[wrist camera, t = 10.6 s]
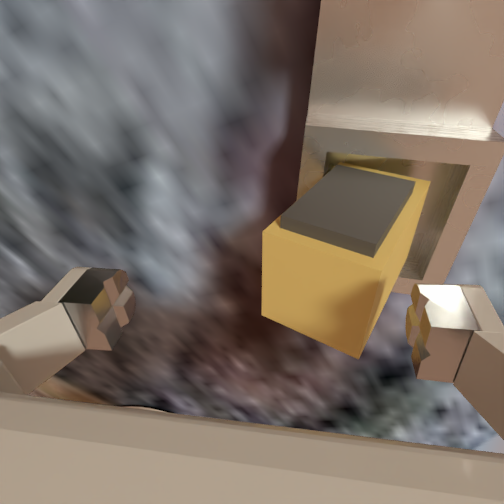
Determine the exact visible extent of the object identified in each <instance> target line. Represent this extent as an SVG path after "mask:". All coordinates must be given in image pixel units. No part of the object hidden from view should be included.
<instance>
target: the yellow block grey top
mask: <svg viewBox="0 0 504 504" xmlns="http://www.w3.org/2000/svg"><path fill="white" fill-rule="evenodd" d="M430 182H431V181H426V180H421V179H417V178H412V177H407V176H403V175H398V174H393V173H389V172H384V171H379V170H375V169H370V168H365V167H361V166H356V165H351V164H347V163H342V162H340V163H338V164H337V165H336V166H335V167H334V168H333V169H332V170H331V171H329V172H328V173H327V174H326V175H325V176H324V177H323V178H322V179H321V180H319V181H318V182H317V183H316V184H315V185H314V186H313V187H312V188H310V189H309V190H308V191H307V192H306V193H305V194H304V195H303V196H302V197H300V198H299V199H298V200H297V201H296V202H295V203H294V204H293V205H292V206H290V207H289V208H288V209H287V210H286V211H285V212H284V213H283V214H281V215H280V216H279V217H278V218H277V219H276V220H275V221H274V222H273V223H271V224H270V225H269V226H268V227H267V228H266V229H265V230H264V231H263V234H262V316H265V317H267V318H269V319H271V320H273V321H276V322H278V323H280V324H282V325H284V326H287V327H289V328H291V329H293V330H295V331H298V332H300V333H302V334H304V335H306V336H309V337H311V338H313V339H315V340H317V341H320V342H322V343H324V344H326V345H328V346H331V347H333V348H335V349H337V350H339V351H342V352H344V353H346V354H348V355H350V356H353V357H355V358H357V359H359V357H360V355H361V353H362V351H363V349H364V347H365V345H366V342H367V340H368V338H369V336H370V334H371V332H372V330H373V328H374V326H375V324H376V322H377V320H378V317H379V315H380V313H381V311H382V309H383V307H384V305H385V303H386V301H387V299H388V297H389V294H390V292H391V290H392V288H393V286H394V284H395V282H396V280H397V278H398V276H399V274H400V271H401V269H402V267H403V265H404V263H405V261H406V259H407V256H408V253H409V250H410V247H411V244H412V240H413V237H414V234H415V231H416V227H417V224H418V221H419V218H420V214H421V211H422V208H423V205H424V201H425V198H426V195H427V192H428V189H429V185H430Z"/></svg>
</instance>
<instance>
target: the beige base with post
mask: <svg viewBox="0 0 504 504" xmlns="http://www.w3.org/2000/svg"><path fill="white" fill-rule="evenodd" d="M503 101H504V0H321V6H320V14H319V23H318V31H317V39H316V48H315V56H314V64H313V72H312V81H311V89H310V97H309V106H308V113H307V119H306V125H305V133H304V141H303V149H302V158H301V166H300V174H299V183H298V191H297V200H298V199H299V198H300V197H302V196H303V195H304V194H305V193H306V192H307V191H308V190H309V189H310V188H312V187H313V186H314V185H315V184H316V183H317V182H318V181H319V180H321V179H322V178H323V177H324V176H325V175H326V174H327V173H328V172H329V171H331V170H332V169H333V168H334V167H335V166H336V165H337V164H338V163H340V162H342V163H347V164H351V165H356V166H361V167H365V168H370V169H375V170H379V171H384V172H389V173H393V174H398V175H403V176H407V177H412V178H417V179H421V180H426V181H431V182H430V185H429V189H428V192H427V195H426V198H425V201H424V205H423V208H422V211H421V214H420V218H419V221H418V224H417V227H416V231H415V234H414V237H413V240H412V244H411V247H410V250H409V253H408V256H407V259H406V261H405V263H404V265H403V267H402V269H401V271H400V274H399V276H398V278H397V280H396V282H395V284H394V286H393V288H392V290H391V292H396V293H404V294H411V292H412V288H413V286H414V284H415V283H420V284H444V281H445V279H446V277H447V275H448V273H449V271H450V269H451V266H452V264H453V262H454V260H455V258H456V256H457V253H458V251H459V249H460V247H461V245H462V243H463V241H464V238H465V236H466V234H467V232H468V230H469V228H470V226H471V223H472V221H473V219H474V217H475V215H476V213H477V211H478V208H479V206H480V204H481V202H482V200H483V198H484V196H485V193H486V191H487V189H488V187H489V185H490V183H491V181H492V178H493V176H494V174H495V172H496V170H497V168H498V166H499V163H500V161H501V159H502V157H503V155H504V138H503V137H502V136H501V135H500V134H498V133H497V132H496V131H495V130H494V129H493V128H492V127H493V124H494V122H495V120H496V117H497V115H498V113H499V110H500V108H501V106H502V103H503ZM297 200H296V201H297Z"/></svg>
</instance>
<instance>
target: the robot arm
mask: <svg viewBox="0 0 504 504" xmlns="http://www.w3.org/2000/svg"><path fill="white" fill-rule="evenodd" d="M128 282H129V279H128V277H127V274H126V272H125V271H123V270H120V269H105V268H88V267H76V268H72V269H71V270H70V271H69V272H68V274H67V275H66V276H65V277H64V278H63V279H62V280H61V281H60V282H59V283H58V284H57V285H56V286H55V287H54V288H53V289H52V290H51V291H50V292H49V293H48V294H47V295H46V297H45V298H44V299H43V300H42V301H41V302H38V301H36V302H34V303H32V304H30V305H28V306H25V307H23V308H21V309H19V310H17V311H15V312H13V313H11V314H9V315H7V316H5V317H3V318H1V319H0V504H504V454H501V453H493V452H485V451H477V450H469V449H461V448H453V447H445V446H437V445H428V444H420V443H412V442H404V441H396V440H388V439H380V438H372V437H363V436H355V435H347V434H339V433H330V432H322V431H314V430H306V429H298V428H289V427H281V426H273V425H265V424H257V423H248V422H240V421H232V420H224V419H216V418H208V417H200V416H192V415H184V414H176V413H168V412H164V411H160V410H156V409H151V408H145V407H133V406H130V407H119V406H111V405H103V404H95V403H86V402H78V401H70V400H62V399H54V398H46V397H38V396H30V395H28V394H29V393H31V392H32V391H33V390H35V389H36V388H37V387H38V386H40V385H41V384H42V383H44V382H45V381H46V380H48V379H49V378H50V377H51V376H53V375H54V374H55V373H57V372H58V371H59V370H61V369H62V368H63V367H64V366H66V365H67V364H68V363H70V362H71V361H72V360H74V359H75V358H76V357H77V356H79V355H80V354H81V353H83V352H84V351H85V349H94V350H111V351H112V350H113V348H114V346H115V345H116V343H117V341H118V340H119V338H120V337H121V335H122V328H121V327H122V326H124V325H126V324H127V323H129V322H130V320H131V318H132V317H133V315H134V311H135V306H136V303H135V296H134V293H133V291H131V290H130V289H129V288H128V287H127V284H128ZM411 298H412V302H413V304H412V305H411V306H410V307H408V309H407V315H406V336H407V340H408V343H409V344H410V345H411V346H412V347H413V352H412V356H411V358H412V362H413V366H414V370H415V374H416V379H424V380H433V381H441V382H450V383H454V384H453V385H454V386H455V387H456V388H457V389H458V390H459V391H460V392H461V394H462V395H463V396H464V397H465V398H466V399H467V400H468V401H469V402H470V403H471V405H472V406H473V407H474V408H475V409H476V410H477V411H478V412H479V413H480V415H481V416H482V417H483V418H484V419H485V420H486V421H487V422H488V423H489V424H490V426H491V427H492V428H493V429H494V430H495V431H496V432H497V433H498V434H499V435H500V437H501V438H502V439H503V440H504V326H503V324H502V322H501V320H500V318H499V317H498V315H497V313H496V311H495V309H494V307H493V306H492V304H491V302H490V300H489V298H488V296H487V295H486V293H485V291H484V289H483V287H481V286H480V285H458V284H457V285H444V284H420V283H415V284H414V286H413V288H412V292H411Z"/></svg>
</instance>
